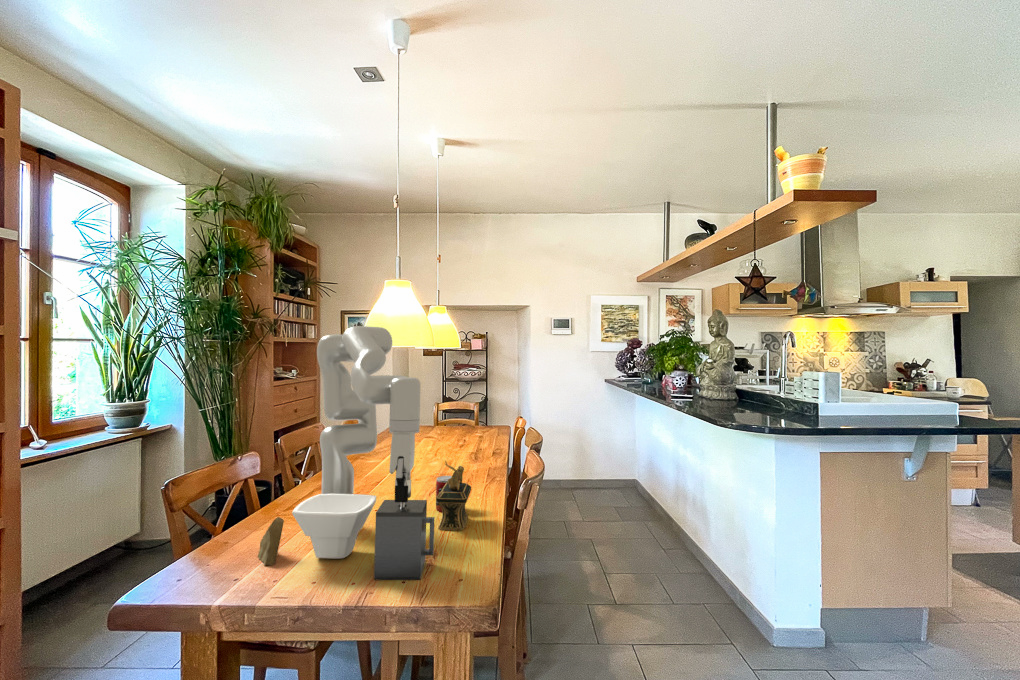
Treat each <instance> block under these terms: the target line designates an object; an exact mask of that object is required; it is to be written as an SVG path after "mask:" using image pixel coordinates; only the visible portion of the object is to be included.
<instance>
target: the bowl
mask: <svg viewBox="0 0 1020 680" xmlns="http://www.w3.org/2000/svg"><path fill="white" fill-rule="evenodd" d="M376 502H377V496H376V495H373V494H364V493H363V494H360V493H359V494H357V493H353V494H321V493H319V494H316V495H313V496H311V497H309V498H307V499H305V500H304V501H303V500H302V501H301V502H300V503H299V504H297V505H296V506H295V507H294V509H293V510H292V512H291V514H292V516H293V517H294V519H295V521H296V522H297V524H298V526H299V528H300V529H301V530H302V531H303V533H304V535H305V536H307V537H309V538H310V541H311V543H312V548H313V552H314V555H315V558H318V559H319V558H320V559H344V558H346V557H348V556H350V554H351V553H352V552H353V550H354V548H355V544H356V542H357V537H358V535H359V532H360V531H361V530H362V528H363V527H364V525H365V524H366V521H367V519H368V518H369V516H370V515H371V514H370V513H371V512H372V510H373V508H374V506H375V504H376Z"/></svg>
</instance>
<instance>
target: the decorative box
mask: <svg viewBox="0 0 1020 680" xmlns="http://www.w3.org/2000/svg"><path fill="white" fill-rule="evenodd" d="M444 461H445V466H446V467H448V468H449V469H450V470H453V471H454V472H453V473H452V475H451V476H452V477H451V478H450V479H448V481H447V482H448V483H446V484H445V485H444V486H443V488H442V489H441V491H440V492H439V494H438V496H437V498H436V497H435V503H436V502H437V503H438V504H439V505H440V506H441V508H442V512H441V513H442V517H441V521H440V523H439V525H438V528H437V529H438V530H440V531H441V530H442V531H464V530H465V529H466V525H467V523H468V519H469V515H468V513H467V510H466V503H467V502H468V500H469V496H470V494H471V491H472V486H471V485H470V484H469V483H467V482H463V479H464V477H463V474H464V472H465V471H464V470H465V467H464V466H462V465H459V466H458V467H457V469H455V467H453V466H451V465H449V464H448V462H447V461H446V460H444Z"/></svg>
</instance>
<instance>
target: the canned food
mask: <svg viewBox="0 0 1020 680" xmlns="http://www.w3.org/2000/svg"><path fill="white" fill-rule="evenodd" d="M451 477H452V475H442V476H438V477H436V484H435V486H436V487H435V499H436V498H437V496H438V494H439V492H440V491H441V489H442V488H443V486H444V485H445V484H446V483H448V482H447V481H448V479H450V478H451ZM435 510H436V511H437V512H438V511H439V513H443V512H442V508H441V506H440V505H439V504H438V503H437V502H436V501H435Z"/></svg>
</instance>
